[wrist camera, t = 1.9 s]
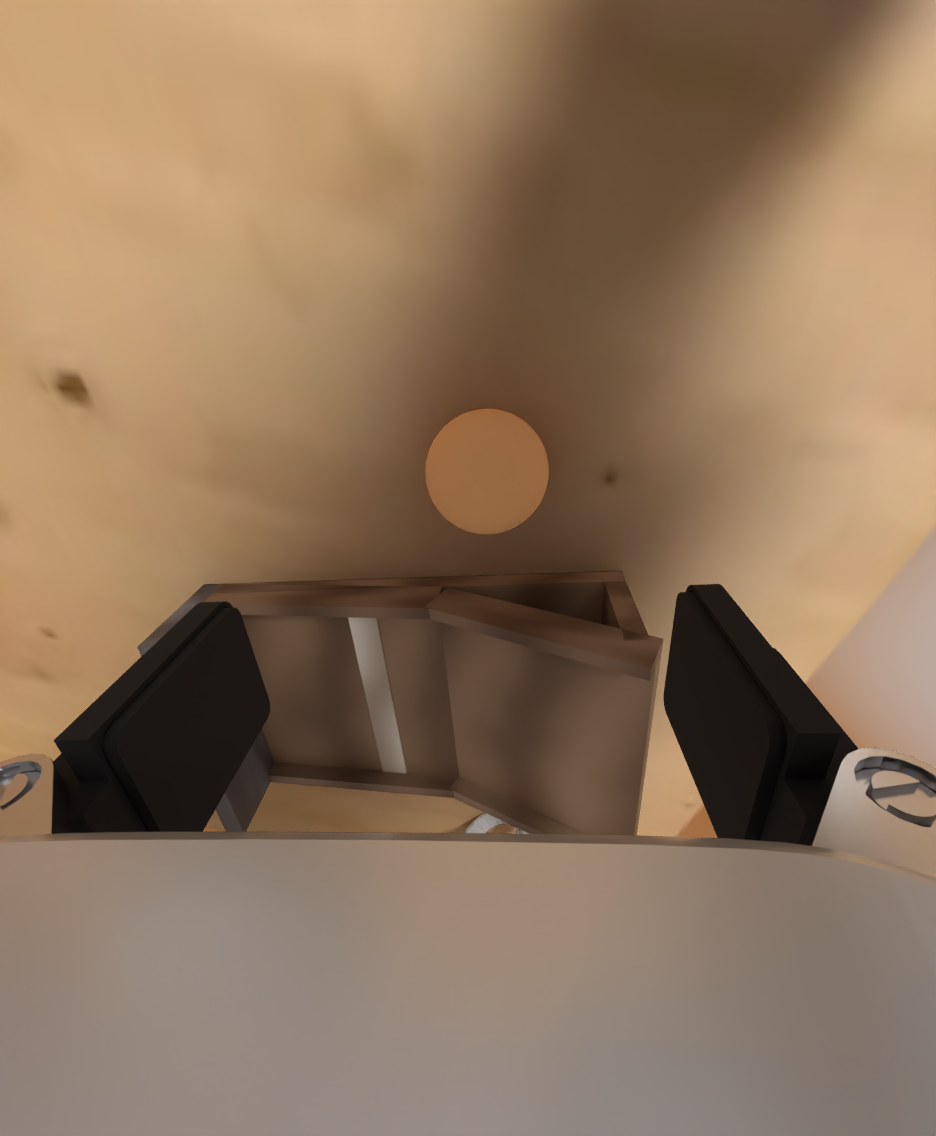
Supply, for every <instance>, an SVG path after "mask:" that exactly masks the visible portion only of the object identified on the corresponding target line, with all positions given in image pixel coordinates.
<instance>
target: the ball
mask: <svg viewBox="0 0 936 1136" xmlns="http://www.w3.org/2000/svg"><path fill="white" fill-rule="evenodd" d="M425 477H426V485H427V489H428V492H429V495H430V497H431V500H432V501H433V503H434V505H435V507H436V508H437V509H438V511H439V512H440V513H441V514H442V515H443V516H444V517H445V519H447V520H448V521H449V522H450V523H452V524H453V525H455V526H457V527H458V528H460V529H463V530H465V531H468V532H471V533H476V534H497V533H502V532H505V531H508V530H511V529H513V528H515V527H517V526H518V525H520V524H521V523H523V522H524V521H525V520H527V519H528V518H529V517H530V516H531V515H532V514H533V513H534V511H535V510H536V509H537V508H538V506H539V504H540V503H541V501H542V499H543V496H544V494H545V492H546V488H547V485H548V478H549V465H548V458H547V454H546V450H545V448H544V446H543V443H542V441H541V440H540V438H539V436H538V435H537V433H536V432H535V431H534V430H533V428H532V427H531V426H529V425H528V424H527V423H526V422H525V421H524V420H522V419H521V418H519V417H517V416H515V415H514V414H511V413H509V412H506V411H502V410H498V409H477V410H472V411H469V412H466V413H463V414H461V415H459V416H457V417H456V418H454V419H453V420H451V421H450V422H449V423H448V424H446V425H445V426H444V427H443V428H442V429H441V431H440V432H439V433H438V434H437V436H436V437H435V439H434V440H433V442H432V444H431V447H430V449H429V452H428V455H427V459H426V466H425Z"/></svg>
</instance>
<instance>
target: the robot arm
mask: <svg viewBox="0 0 936 1136" xmlns="http://www.w3.org/2000/svg"><path fill="white" fill-rule="evenodd" d="M664 706H665V711H666V714H667V716H668V719H669V721H670V723H671V726H672V728H673V731H674V733H675V736H676V738H677V740H678V743H679V745H680V748H681V750H682V752H683V755H684V757H685V760H686V762H687V765H688V767H689V769H690V772H691V774H692V777H693V779H694V781H695V784H696V786H697V789H698V791H699V794H700V796H701V798H702V801H703V803H704V806H705V808H706V811H707V813H708V815H709V818H710V820H711V822H712V825H713V827H714V830H715V832H716V835H717V837H718V838H699V837H697V838H696V837H666V836H632V835H567V834H491V833H385V832H203V830H204V828H205V826H206V825H207V823H208V821H209V819H210V818H211V816H212V814H213V813H214V811H215V809H216V807H217V806H218V804H219V802H220V800H221V799H222V797H223V795H224V793H225V792H226V790H227V788H228V786H229V785H230V783H231V781H232V780H233V778H234V776H235V774H236V773H237V771H238V769H239V767H240V766H241V764H242V762H243V760H244V759H245V757H246V755H247V754H248V752H249V750H250V748H251V747H252V745H253V743H254V741H255V740H256V738H257V736H258V734H259V733H260V731H261V729H262V728H263V726H264V724H265V722H266V721H267V719H268V717H269V713H270V700H269V697H268V694H267V691H266V688H265V685H264V682H263V679H262V676H261V673H260V670H259V667H258V664H257V661H256V658H255V655H254V652H253V649H252V646H251V643H250V640H249V637H248V634H247V631H246V628H245V625H244V622H243V619H242V616H241V613H240V611H239V610H238V609H237V608H235V607H234V608H233V606H232V605H231V604H230V603H229V602H227V601H220V602H200V603H198V604H196V605H195V606H194V607H193V608H192V609H191V610H190V611H189V612H188V613H187V614H186V615H185V616H184V617H183V618H182V619H181V620H179V621H178V622H177V623H176V624H175V625H174V626H173V627H172V628H171V629H170V630H169V631H168V632H167V633H166V634H165V635H164V636H163V637H162V638H161V639H160V640H159V641H157V642H156V643H155V644H154V645H153V646H152V647H151V648H150V649H149V650H148V651H147V652H146V653H145V654H144V655H143V656H142V657H141V658H140V659H139V660H138V661H137V662H135V663H134V664H133V665H132V666H131V667H130V668H129V669H128V670H127V671H126V672H125V673H124V674H123V675H122V676H121V677H120V678H119V679H118V680H117V681H116V682H115V683H113V684H112V685H111V686H110V687H109V688H108V689H107V690H106V691H105V692H104V693H103V694H102V695H101V696H100V697H99V698H98V699H97V700H96V701H95V702H94V703H92V704H91V705H90V706H89V707H88V708H87V709H86V710H85V711H84V712H83V713H82V714H81V715H80V716H79V717H78V718H77V719H76V720H75V721H74V722H73V723H72V724H70V725H69V726H68V727H67V728H66V729H65V730H64V731H63V732H62V733H61V734H60V735H59V736H58V737H57V738H56V739H55V740H54V742H55V743H56V745H57V746H58V748H59V750H60V751H61V753H62V754H61V755H60V756H59V757H58V758H57V759H56V760H55V761H54V762H53V761H52V759H51V758H49V757H47V756H46V755H43V754H28V755H22V756H17V757H15V758H12V759H9V760H6V761H3V762H0V1136H936V768H935V767H934V766H932V765H930V764H928V763H926V762H924V761H921V760H919V759H917V758H915V757H913V756H909V755H906V754H903V753H900V752H897V751H894V750H887V749H880V748H864V749H858V748H857V746H856V745H855V744H854V743H853V742H852V740H851V739H850V738H849V737H848V735H847V734H846V733H845V732H844V731H843V729H842V728H841V727H840V726H839V724H838V723H837V722H836V721H835V720H834V718H833V717H832V716H831V715H830V714H829V712H828V711H827V710H826V709H825V708H824V706H823V705H822V704H821V703H820V701H819V700H818V699H817V698H816V696H815V695H814V694H813V693H812V692H811V690H810V689H809V688H808V687H807V685H806V684H805V683H804V682H803V681H802V679H801V678H800V677H799V676H798V675H797V673H796V672H795V671H794V670H793V668H792V667H791V666H790V665H789V664H788V662H787V661H786V660H785V659H784V657H783V656H782V655H781V654H780V653H779V652H778V651H777V650H776V649H774V648H772V647H771V645H770V644H769V643H768V642H767V641H766V639H765V638H764V637H763V636H762V634H761V633H760V632H759V631H758V629H757V628H756V627H755V626H754V625H753V623H752V622H751V621H750V620H749V618H748V617H747V616H746V615H745V613H744V612H743V611H742V610H741V609H740V607H739V606H738V605H737V604H736V602H735V601H734V600H733V599H732V597H731V596H730V595H729V594H728V592H727V591H726V590H725V589H724V588H723V586H721V585H720V584H707V585H690V586H688V588H687V590H686V592H680V593H679V594H678V596H677V600H676V607H675V615H674V622H673V629H672V637H671V644H670V652H669V659H668V666H667V674H666V681H665V689H664Z"/></svg>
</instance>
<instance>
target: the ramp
mask: <svg viewBox="0 0 936 1136" xmlns="http://www.w3.org/2000/svg"><path fill="white" fill-rule="evenodd" d="M220 601H227V602H229V603H230V604H231V605H232V606H233V608H234V607H235V608H237V609H238V610H239V611H240V613H241V616H242V619H243V622H244V625H245V628H246V631H247V634H248V637H249V640H250V643H251V646H252V649H253V652H254V655H255V658H256V661H257V664H258V667H259V670H260V673H261V676H262V679H263V682H264V685H265V688H266V691H267V694H268V697H269V700H270V713H269V717H268V719H267V721H266V722H265V724H264V726H263V728H262V729H261V731H260V733H259V734H258V736H257V738H256V740H255V741H254V743H253V745H252V747H251V748H250V750H249V752H248V754H247V755H246V757H245V759H244V760H243V762H242V764H241V766H240V767H239V769H238V771H237V773H236V774H235V776H234V778H233V780H232V781H231V783H230V785H229V786H228V788H227V790H226V792H225V793H224V795H223V797H222V799H221V800H220V802H219V804H218V806H217V807H216V811H217V813H218V815H219V817H220V819H221V821H222V824H223V826H224V828H225V830H226V832H246V830H247V828H248V826H249V824H250V822H251V820H252V818H253V816H254V814H255V812H256V810H257V808H258V806H259V804H260V802H261V800H262V798H263V796H264V794H265V792H266V790H267V788H268V786H269V784H270V782H278V783H289V784H301V785H312V786H324V787H336V788H347V789H359V790H370V791H382V792H394V793H405V794H417V795H428V796H440V797H452V798H456V799H458V800H460V801H462V802H464V803H466V804H468V805H470V806H472V807H475V808H477V809H479V810H481V811H483V812H485V813H487V814H489V815H491V816H493V817H495V818H498V819H500V820H502V821H504V822H506V823H508V824H510V825H512V826H514V827H516V828H518V829H521V830H523V831H525V832H527V833H529V834H567V835H632V836H637V829H638V822H639V814H640V807H641V800H642V792H643V785H644V777H645V770H646V762H647V755H648V747H649V740H650V732H651V725H652V717H653V710H654V702H655V695H656V688H657V680H658V673H659V665H660V658H661V651H662V644H663V639H662V638H658V637H653V636H649V635H648V633H647V631H646V629H645V626H644V624H643V621H642V619H641V617H640V614H639V612H638V610H637V607H636V605H635V603H634V600H633V598H632V595H631V593H630V591H629V588H628V586H627V584H626V581H625V579H624V576H623V574H622V572H621V571H610V572H579V573H548V574H517V575H486V576H455V577H424V578H393V579H361V580H330V581H299V582H268V583H237V584H206V585H203V586H202V587H201V588H200V589H199V590H198V591H197V592H196V593H195V594H194V595H192V596H191V597H190V598H189V599H188V600H187V601H186V602H185V603H184V604H183V605H182V606H181V607H180V608H179V609H177V610H176V611H175V612H174V613H173V614H172V615H171V616H170V617H169V618H168V619H167V620H166V621H165V622H164V623H162V624H161V625H160V626H159V627H158V628H157V629H156V630H155V631H154V632H153V633H152V634H151V635H150V636H149V637H148V638H146V639H145V640H144V641H143V642H142V643H141V644H140V645H139V646H138V649H139V651H140V654H141V656H143V655H144V654H145V653H146V652H147V651H148V650H149V649H150V648H151V647H152V646H153V645H154V644H155V643H156V642H157V641H159V640H160V639H161V638H162V637H163V636H164V635H165V634H166V633H167V632H168V631H169V630H170V629H171V628H172V627H173V626H174V625H175V624H176V623H177V622H178V621H179V620H181V619H182V618H183V617H184V616H185V615H186V614H187V613H188V612H189V611H190V610H191V609H192V608H193V607H194V606H195V605H196V604H198V603H200V602H220Z"/></svg>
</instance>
